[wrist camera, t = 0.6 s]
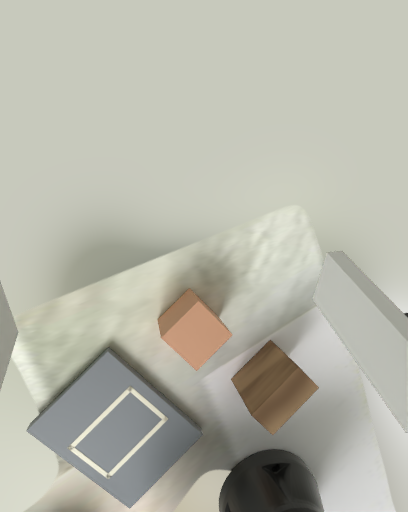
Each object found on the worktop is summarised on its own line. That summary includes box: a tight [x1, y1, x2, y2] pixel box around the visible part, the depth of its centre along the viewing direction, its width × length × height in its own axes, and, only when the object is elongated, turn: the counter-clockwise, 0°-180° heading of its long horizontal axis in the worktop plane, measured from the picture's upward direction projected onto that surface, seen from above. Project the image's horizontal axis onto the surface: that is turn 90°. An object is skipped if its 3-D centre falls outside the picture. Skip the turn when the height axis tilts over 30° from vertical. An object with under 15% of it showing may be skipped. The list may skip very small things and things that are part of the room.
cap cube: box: [158, 288, 232, 371], centre depth 43 cm, size 6×6×7 cm
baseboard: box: [27, 347, 203, 508], centre depth 46 cm, size 18×14×2 cm
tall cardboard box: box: [231, 340, 319, 435], centre depth 45 cm, size 4×8×9 cm, turn 133°
